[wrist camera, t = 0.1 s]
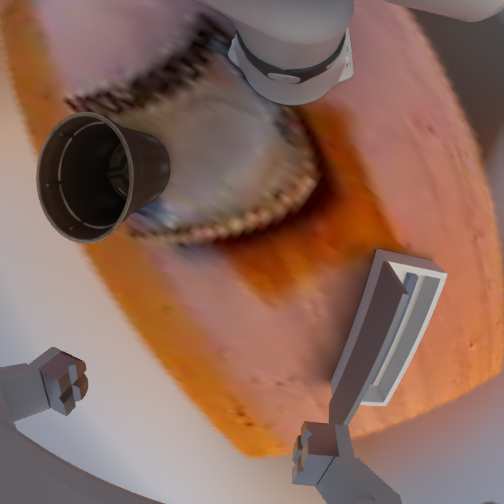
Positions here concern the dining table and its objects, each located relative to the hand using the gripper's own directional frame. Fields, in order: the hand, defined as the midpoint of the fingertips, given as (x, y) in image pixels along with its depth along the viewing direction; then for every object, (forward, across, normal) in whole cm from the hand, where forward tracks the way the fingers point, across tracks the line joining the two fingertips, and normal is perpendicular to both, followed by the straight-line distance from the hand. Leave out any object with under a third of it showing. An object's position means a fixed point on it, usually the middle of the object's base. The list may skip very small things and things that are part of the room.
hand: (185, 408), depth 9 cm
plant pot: (+38, +22, -7) cm, 45 cm away
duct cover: (+29, -18, +14) cm, 36 cm away
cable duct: (+40, -24, +13) cm, 49 cm away
